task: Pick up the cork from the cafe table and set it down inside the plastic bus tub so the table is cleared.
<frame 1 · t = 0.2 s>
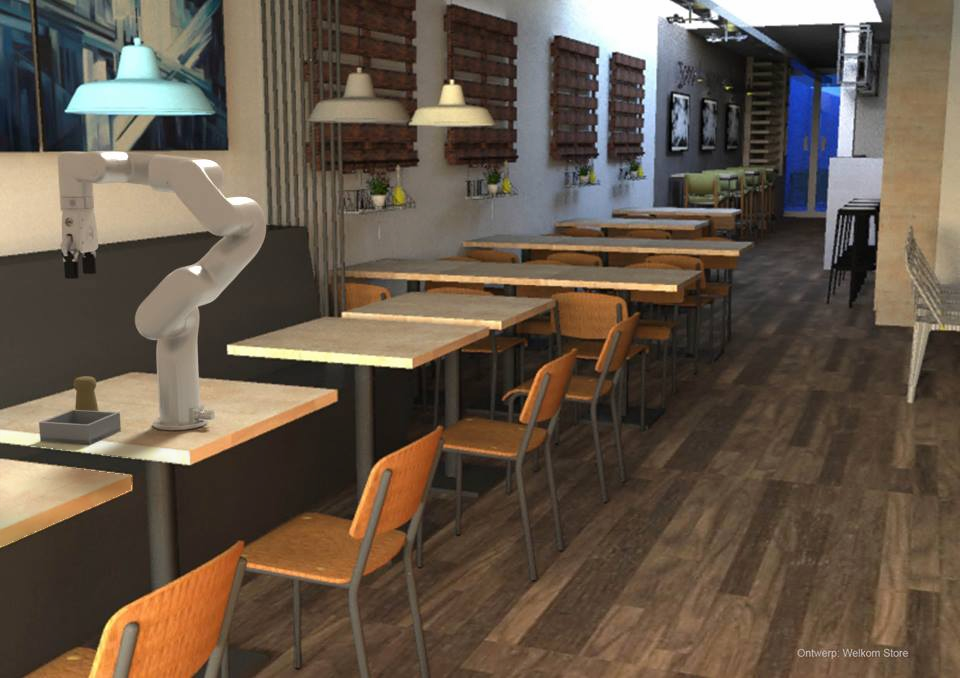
hand: (81, 275, 259), 35 cm above the table, tool pointing down, fingers open, 9 cm apart
cork: (87, 421, 263), on the table
bus tub: (81, 436, 249), on the table
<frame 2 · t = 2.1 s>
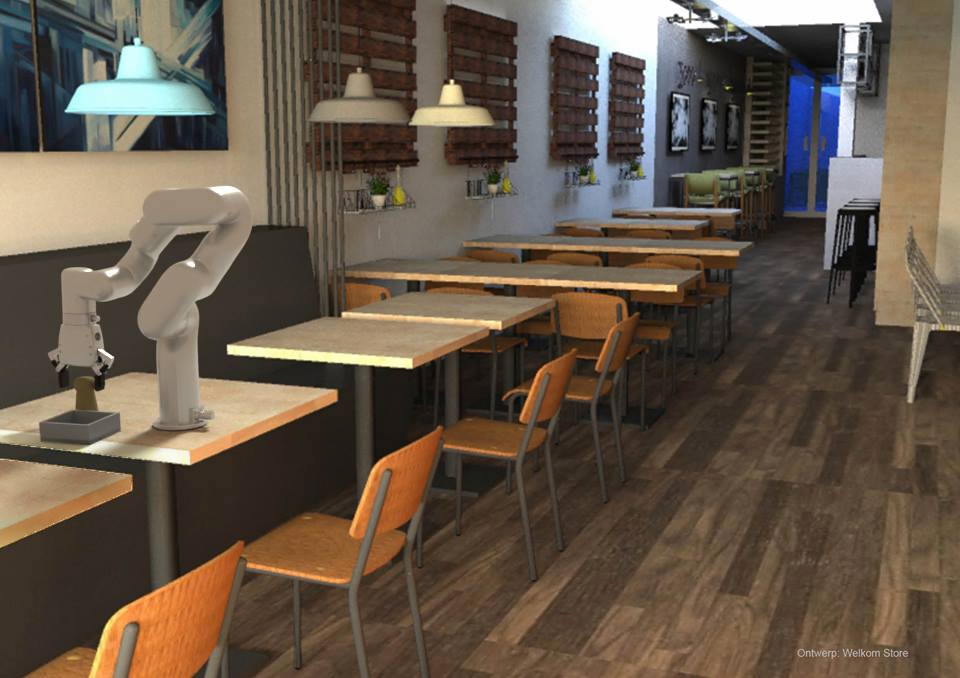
hand: (81, 388, 262), 8 cm above the table, tool pointing down, fingers open, 9 cm apart
nothing on the table moved.
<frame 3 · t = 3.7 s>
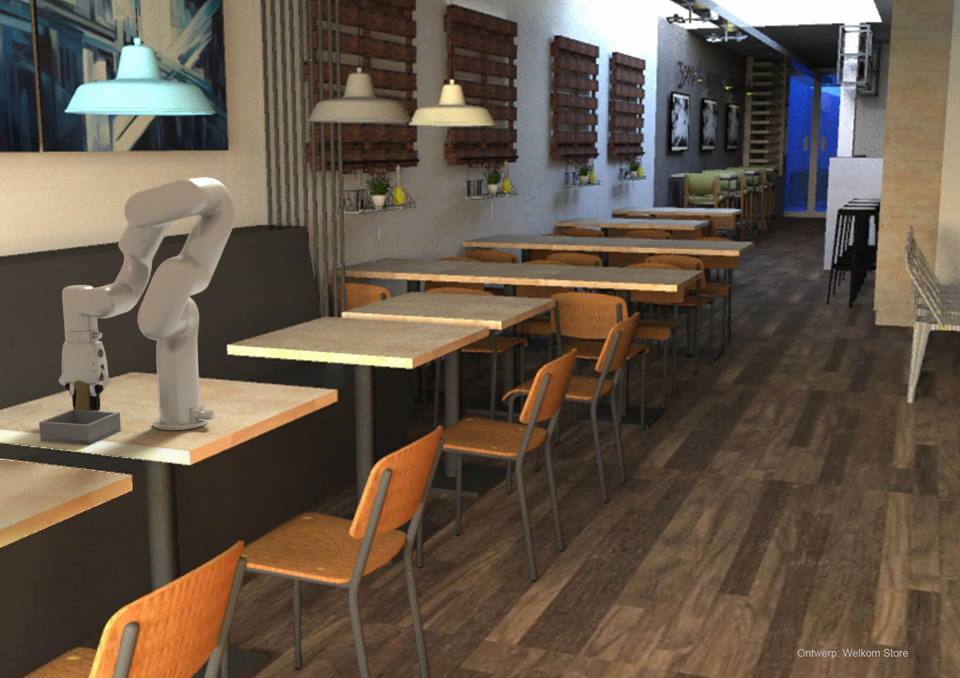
hand: (86, 409, 263), 3 cm above the table, tool pointing down, fingers closed on cork, 3 cm apart
cork: (87, 421, 263), on the table, touching gripper
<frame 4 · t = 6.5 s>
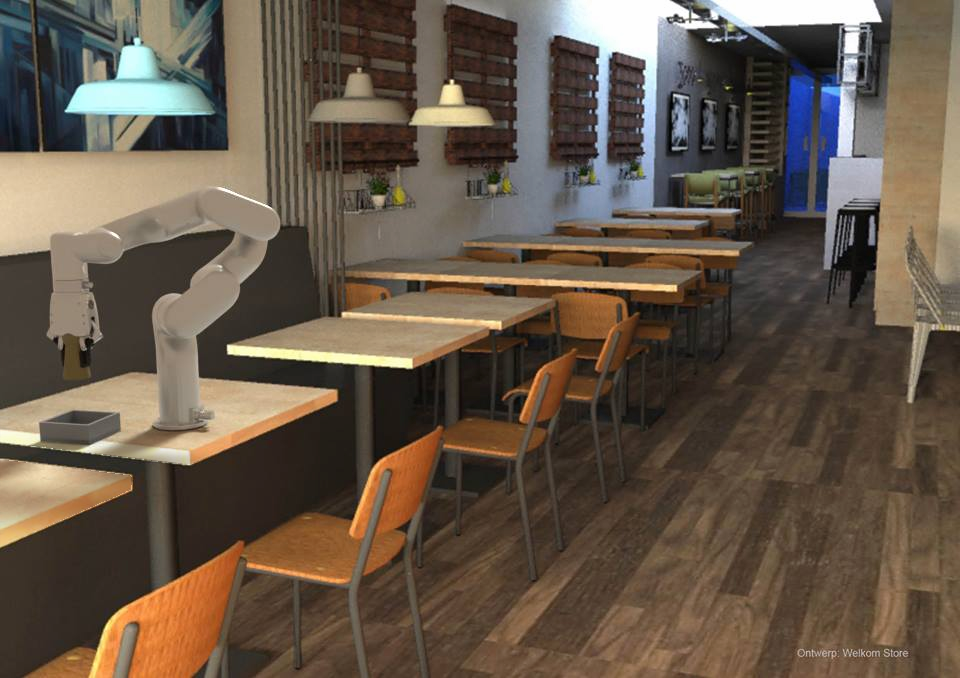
hand: (76, 365, 246), 17 cm above the table, tool pointing down, fingers closed on cork, 3 cm apart
cork: (77, 378, 247), point 14 cm above the table, touching gripper
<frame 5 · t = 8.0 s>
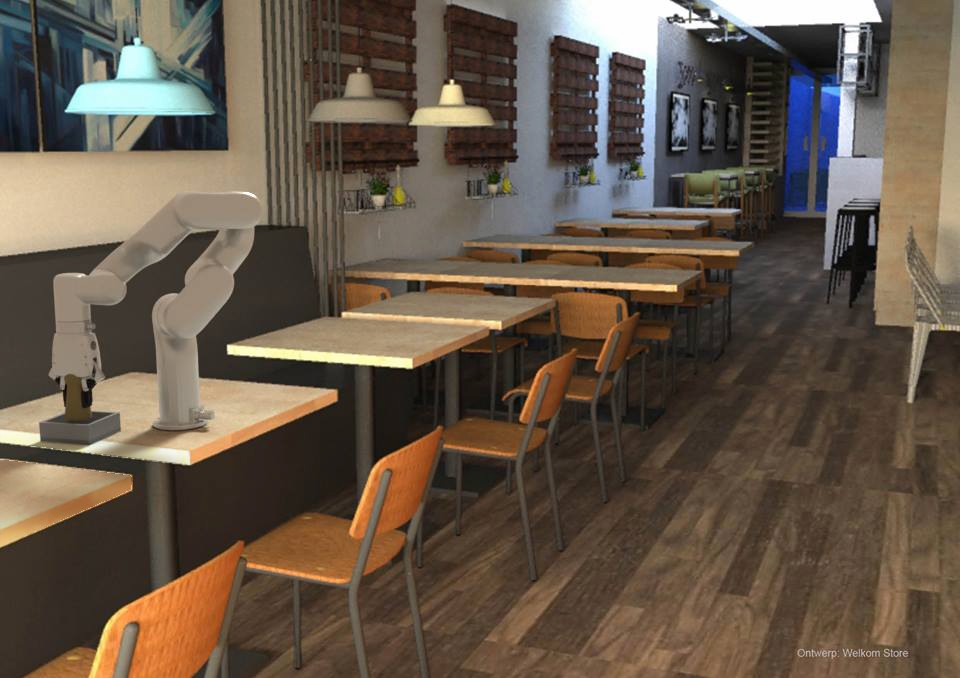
hand: (78, 405, 248), 7 cm above the table, tool pointing down, fingers closed on cork, 3 cm apart
cork: (78, 418, 248), point 4 cm above the table, touching gripper
when the fingers open (5 cm above the table, at t = 9.2 s): cork drops 1 cm, resting on bus tub.
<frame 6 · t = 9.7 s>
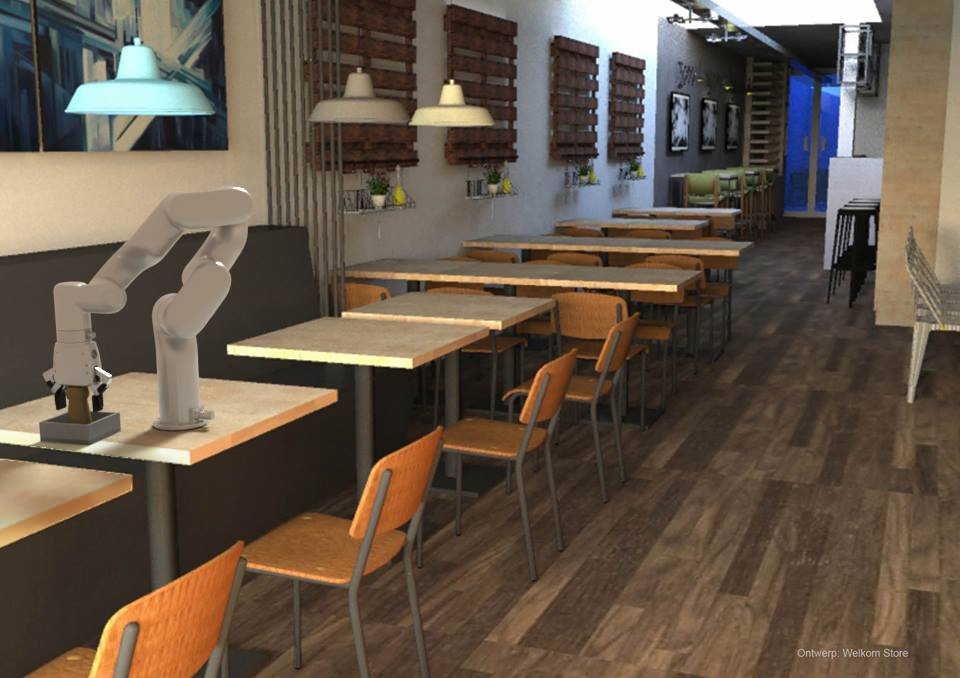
hand: (79, 409, 248), 6 cm above the table, tool pointing down, fingers open, 9 cm apart
cork: (80, 432, 250), point 1 cm above the table, touching bus tub
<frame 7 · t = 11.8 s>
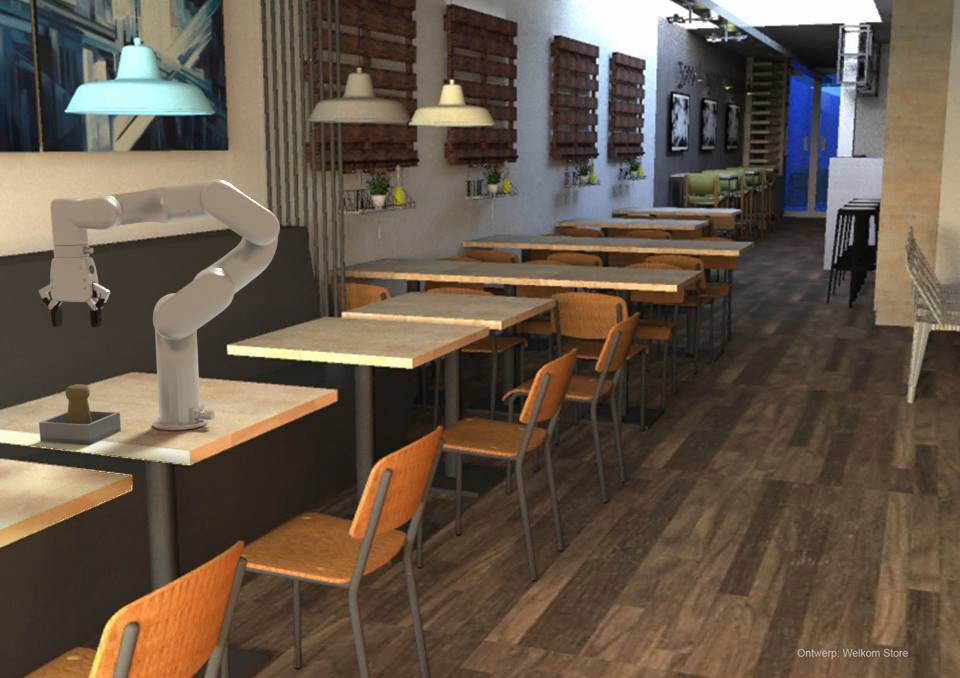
hand: (76, 326, 250), 25 cm above the table, tool pointing down, fingers open, 9 cm apart
nothing on the table moved.
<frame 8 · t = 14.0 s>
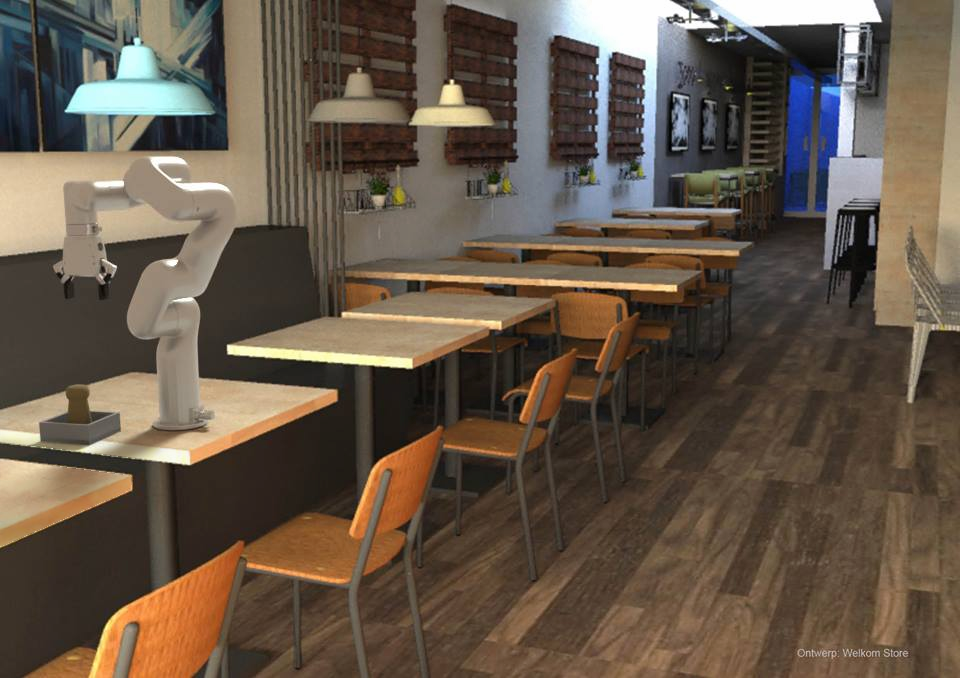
hand: (86, 298, 271), 28 cm above the table, tool pointing down, fingers open, 9 cm apart
nothing on the table moved.
at the end: cork inside the target area on the bus tub (0.5 cm from its centre), point 0.8 cm above the bus tub's base; cork tilted 0°; the gripper is holding nothing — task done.
